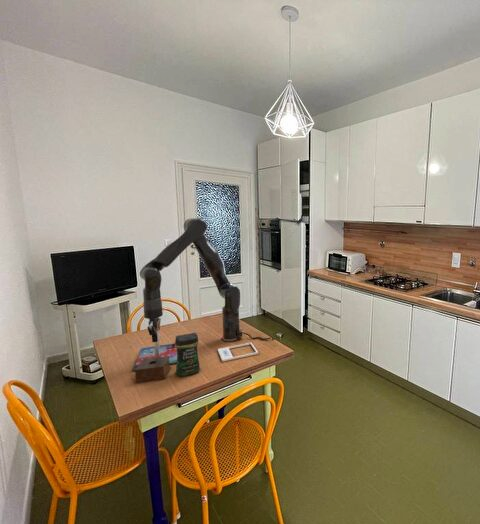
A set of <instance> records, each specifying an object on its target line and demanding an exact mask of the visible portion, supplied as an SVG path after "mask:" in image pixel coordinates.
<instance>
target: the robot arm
mask: <svg viewBox="0 0 480 524" xmlns="http://www.w3.org/2000/svg"><path fill="white" fill-rule="evenodd" d="M183 230H184V232H183V233H182V234H181V235H180V236H179V237H178V238H176V239H175V240H174V241H172V242H171V243H169V244H168V245H167V246H165V247H164V248H163V249H162V250H161V251H160V252H159V253H158V254H157V256H156V257H154V258H153V259H151V260H150V261H149V262H147V263H146V264H145V265H144V266H142V268H141V269H140V271H139V277H140V278H141V279H142V280H143V281H144V287H143V289H142V297H143V302H142V303H143V304H142V305H143V317H144V318H145V319H147V320H149V321H148V322H147V323H148V326H147V331H148V334H149V336H151V342H152V343H155V342H157V341H158V337H157V334H158V333H157V331H159V332H160V330H161V321H162V319H161V317H162V316H164V315H163V314H164V311H163V301H162V293H161V292H162V291H161V285H162V279H163V277H162V273H161V271H162V270H164V269H165V268H168V267H170V266H171V264H173V263H174V262H175V260H176V259H177V258H178V257H179V256H180V255H181V254H182V253H183V252H184V251H185V250H186V249H187V248H188V247H189V246H191V245H192V244H193V245H194V248H195V249H196V251H197V253H198V255H199V257H200V259H201V261H202V264H203V265H204V267H205V268H206V270H207V272H208V274H209V275H210V277H211V278H212V280H213V281H214V284H215V286H216V289H217V291H218V294H219V296H220V297H221V298H223V299H224V305H223V306H222V307H221V315H222V316H221V318H222V320H221V321H222V340H223V341H224V342H234V341H237V340H240V338H241V337H243V335H246V336H248V337H249V338H250V339H251V340H256V339H261V340H263V341H267V340H272V341H275V338H274V337H266V338H263V337H261V336H256V337H255V336H254V337H252V336H251V334H249V333H246V332H244V331H243V328H241V329H240V306H241V290H240V288H239V287H238V286H237V285H234V284H232V283H231V282H230V280H229V279H228V277H227V275H226V269H225V263H224V260H223V259H222V258H221V255H220V253H219V252H218V251H217V249H216V248H215V247H214V246H213V245H212V244H211V243H210V241H208V239H207V237H206V232H207V230H208V224H207V222H206V221H205V220H204V219H202V218H197V217H196V218H193V217H192V218H188V219H186V220H185V221H184V222H183ZM271 338H272V339H271Z"/></svg>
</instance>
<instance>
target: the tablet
mask: <svg viewBox="0 0 480 524" xmlns="http://www.w3.org/2000/svg"><path fill="white" fill-rule="evenodd" d="M164 356H169V366H170V365H175V364H177V348H176V347H175V342H174V343H168V344H159V357H164ZM147 358H155V345H153V346H148V347H141V349H140V351H139V354H138V356H137V359H136V361H135V363H134V366H133V369H132V370H133V371H134V372H135V369H136V368H137V366H138V365H139V364H140V362H141V361H142V359H147Z"/></svg>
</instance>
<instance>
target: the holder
mask: <svg viewBox="0 0 480 524" xmlns="http://www.w3.org/2000/svg"><path fill="white" fill-rule="evenodd" d="M170 367H171V366H170V365H169V356H164V357H156V358H147V359H142V361H141V362H140V364H139V365H138V366H137V368H136V369H135V371H134V374H135V375H134V376H135V383H136V384H138V383H144V382H153V381H158V380H164V379H165V378H166V376H167V374H168V372H169V370H170Z"/></svg>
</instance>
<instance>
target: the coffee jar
mask: <svg viewBox="0 0 480 524" xmlns="http://www.w3.org/2000/svg"><path fill="white" fill-rule="evenodd" d="M199 342H200V341H199V336H198V334H197V333H196V332H191V333H185V334H180V335H176V336H175V342H174V343H175V347H176V348H177V363H176V366H175V372H176V375H177V376H178V377H186V376H190V375H195V374H197V373H198V372H199V371H200V369H201V368H200V367H201V365H200V359H199V352H198V351H199V350H198V347H199Z"/></svg>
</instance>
